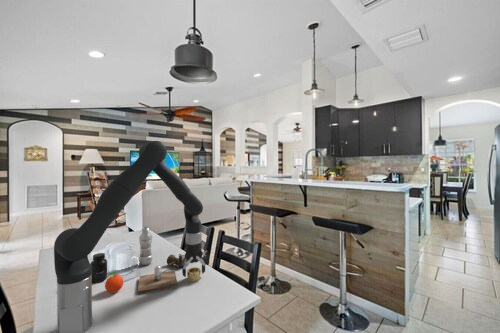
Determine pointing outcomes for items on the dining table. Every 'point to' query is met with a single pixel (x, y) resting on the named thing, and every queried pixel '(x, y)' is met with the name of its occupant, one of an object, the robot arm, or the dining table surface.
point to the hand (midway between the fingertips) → (194, 274)
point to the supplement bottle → (99, 268)
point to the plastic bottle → (145, 247)
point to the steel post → (157, 273)
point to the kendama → (174, 260)
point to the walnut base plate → (157, 282)
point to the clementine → (114, 283)
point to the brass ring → (193, 274)
